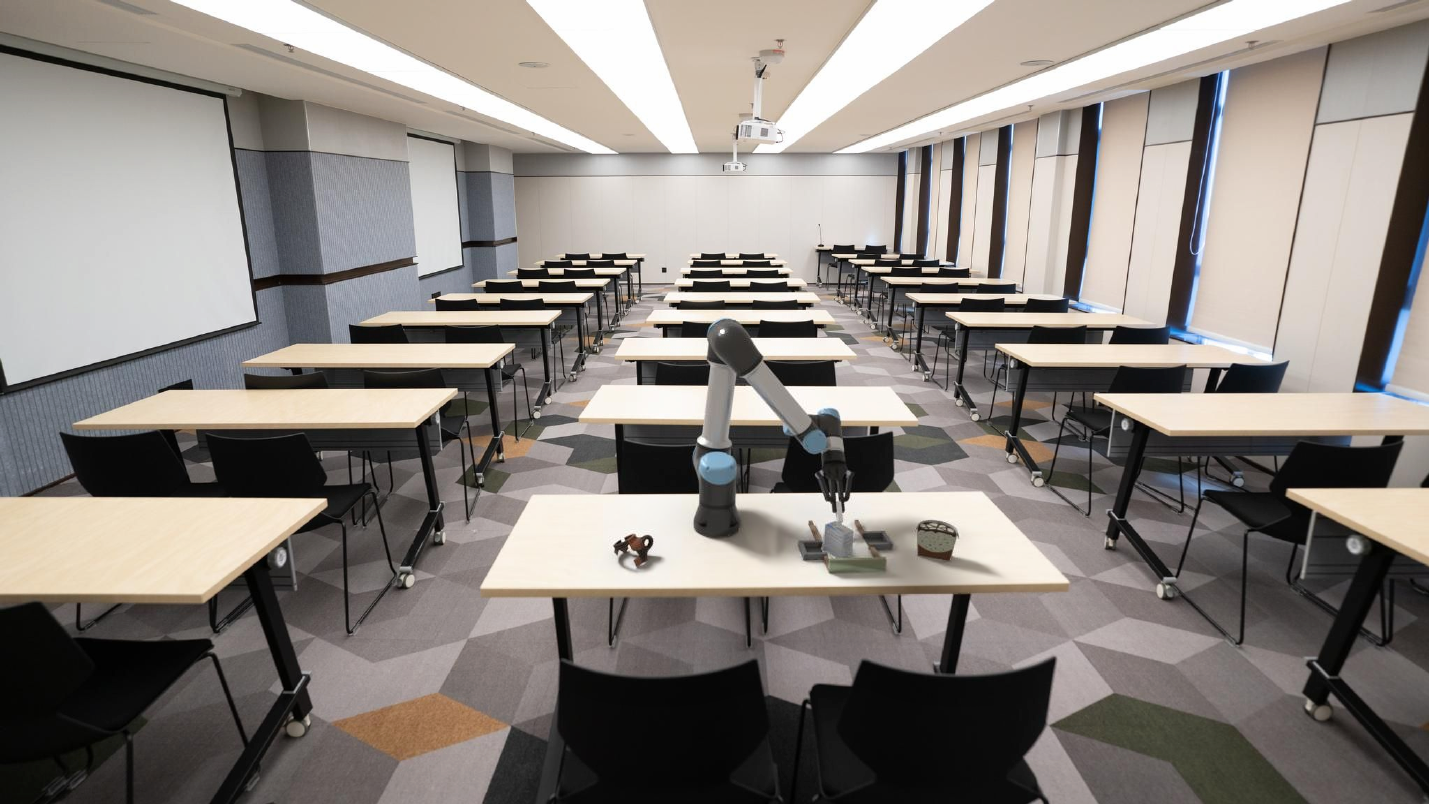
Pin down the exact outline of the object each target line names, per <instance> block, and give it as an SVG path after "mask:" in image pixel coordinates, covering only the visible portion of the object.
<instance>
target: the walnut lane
mask: <svg viewBox="0 0 1429 804" xmlns="http://www.w3.org/2000/svg"><path fill="white" fill-rule="evenodd" d="M853 524H854V526H855V528H856V529H857V531H858V533H859V535H860V537H861V538H862V531H866V530H865V528H864V527H863V525H862V524H861V521H860V520H859V519H854V523H853ZM808 527H809V530H810V532H811V535H812V536H813V538H814V539H813V540H822V539H821V537H820V535H819V532H818V530H817V528H816V526H815V524H814V521H813V520H811V519H809V520H808ZM865 536H866V535H865ZM863 538H864V537H863ZM863 538H862V539H863ZM820 545H822V546H820ZM818 547H821V548H822V549H823V542H822V543H821V544H818ZM867 547H870V549H869V548H868V551H869V553H870V554H871V557H870V556H869V557H849V558H837V557H835V558H834V557H833V558H831V557H830V556H829V555H828V556H824V560H823V562H824V566H825V567H826V570H827V571H828V573H829V574H836V573H837V574H842V573H850V574H851V573H885V572H887V571H886V570H887V560H888V559H887V557H886V556H880V554H879V552H878V550H876V549H875V548H874V546H868V545H867Z"/></svg>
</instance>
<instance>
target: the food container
mask: <svg viewBox="0 0 1429 804" xmlns="http://www.w3.org/2000/svg"><path fill="white" fill-rule="evenodd" d="M914 532H916V539H917V540H916V541H917V542H916V549H917V551H916V554H917V557H920V558H926V559H931V560H938V561H944V562H949V563H950V562H951V559H952V557H953V552H954V549H955V546H956V541H957V539H958V540H959V539H960V536H959V531H958V528H956V526H955V525H952V524H951V523H949V522H946V521H943V520H936V519H927V520H922V521H919V522H918V524H917V525H916V526H915V531H914Z"/></svg>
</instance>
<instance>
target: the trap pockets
mask: <svg viewBox="0 0 1429 804" xmlns="http://www.w3.org/2000/svg"><path fill="white" fill-rule="evenodd" d="M865 535H866V536H865ZM863 537H864V538H863ZM861 538H862V539H863V540H864V542H865V543H866V544H867V547H868V546H874V548H875V549H876V551H893V550H894V549H893V548H894V543H893V541H892V540H891V539H890V537H889V536H888V534H887V532H886V531H885V530H865V531H862V537H861ZM821 543H822V545H820V546H822V548H821V547H818V544H821ZM797 548H798V551H799V552H800V555H801V559H802V561H824V556H828V557H829V552H827V551H824V550H823V540H822V539H821V540H815V539H809V540H808V539H807V540H806V539H804V540H803V539H802V540H801V539H799V540H798V543H797ZM868 548H869V549H870V547H868ZM869 549H868V550H869Z"/></svg>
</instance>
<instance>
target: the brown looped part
mask: <svg viewBox="0 0 1429 804" xmlns="http://www.w3.org/2000/svg"><path fill="white" fill-rule="evenodd" d="M646 541H647V544H646ZM653 546H654V538H653V536H652V535H650V534H644V535H643V536H640V537H639V536H637V535H636V533H631V534H629V535H626V536H624V541H622V539H619V540H618V541H616V542H615V543H614V544H613V545H612V547H613V548H614V550H613V553H614V554H615V555H616V556H617V557H618V555H619V552H622V553H623V554H627V553H628V550H629V548H630V550H631V551H633V552H636V553H637V555H638V556H637V557H636V558H634V559H633V563H634V565H635V567H639V566H641V565H642V564H644V563H646V562H647V561H648V559H649V558H648V552H649V551H650V550H651V548H652V547H653Z"/></svg>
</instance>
